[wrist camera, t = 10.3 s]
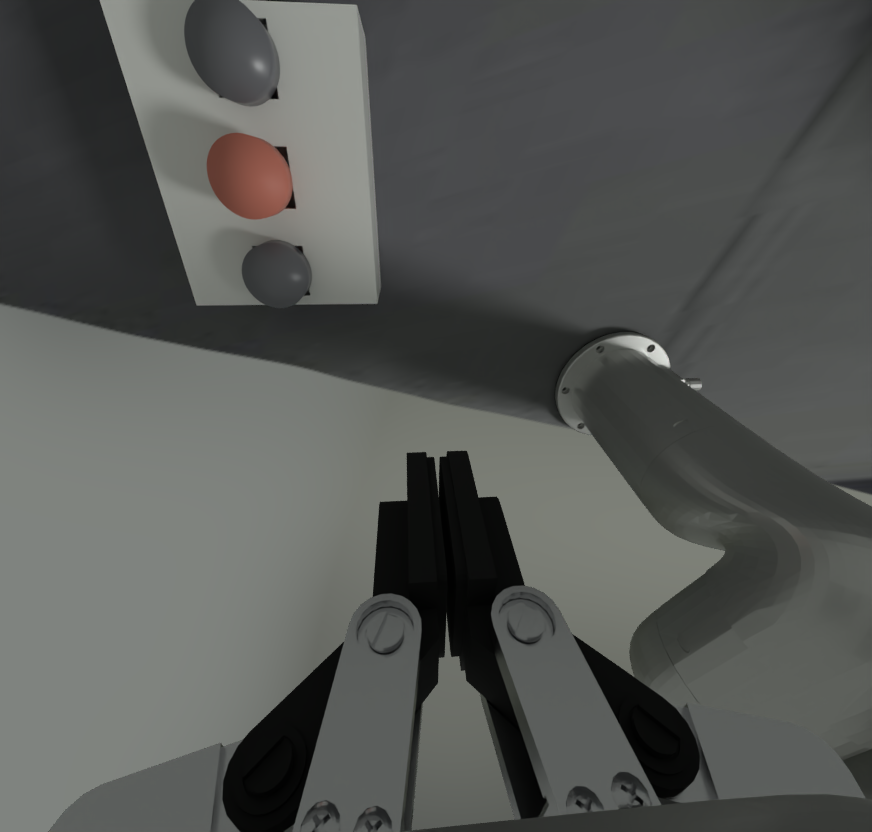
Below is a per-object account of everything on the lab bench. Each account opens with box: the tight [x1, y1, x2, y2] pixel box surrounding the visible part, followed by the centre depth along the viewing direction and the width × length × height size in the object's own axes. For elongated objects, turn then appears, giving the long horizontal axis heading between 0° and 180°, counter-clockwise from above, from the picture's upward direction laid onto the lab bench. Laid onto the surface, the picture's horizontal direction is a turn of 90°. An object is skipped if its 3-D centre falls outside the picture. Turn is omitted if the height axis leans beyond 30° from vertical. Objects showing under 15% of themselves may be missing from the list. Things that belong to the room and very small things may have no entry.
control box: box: [100, 0, 381, 305], centre depth 28 cm, size 14×17×6 cm
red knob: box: [207, 133, 293, 220], centre depth 25 cm, size 4×4×6 cm
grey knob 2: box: [242, 240, 312, 308], centre depth 30 cm, size 4×4×6 cm
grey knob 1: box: [184, 0, 280, 107], centre depth 23 cm, size 4×4×6 cm
